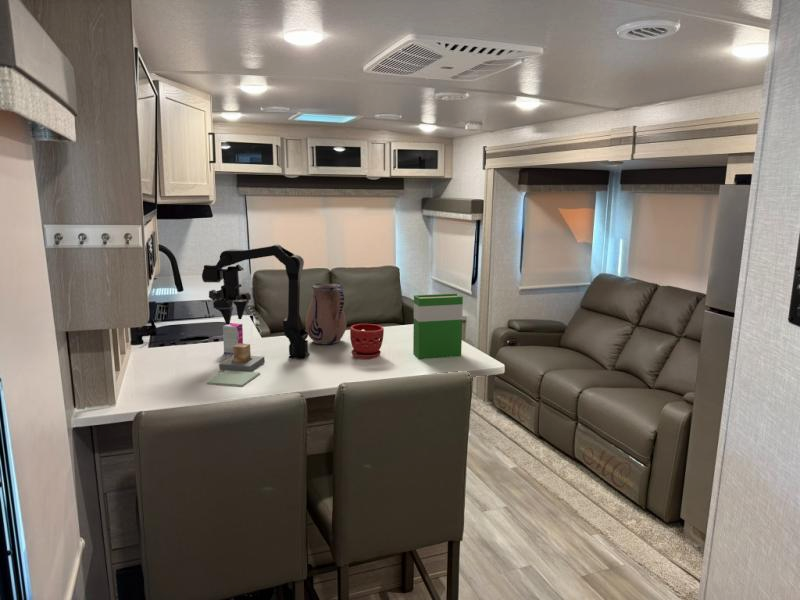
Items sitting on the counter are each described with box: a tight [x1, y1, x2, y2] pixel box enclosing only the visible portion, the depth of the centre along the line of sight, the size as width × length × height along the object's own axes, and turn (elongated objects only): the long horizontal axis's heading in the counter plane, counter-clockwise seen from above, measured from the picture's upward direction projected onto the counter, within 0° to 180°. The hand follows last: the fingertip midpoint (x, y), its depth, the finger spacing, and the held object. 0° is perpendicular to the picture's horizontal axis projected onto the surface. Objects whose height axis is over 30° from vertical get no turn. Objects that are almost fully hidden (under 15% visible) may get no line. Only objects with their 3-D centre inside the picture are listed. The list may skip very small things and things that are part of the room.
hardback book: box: [412, 293, 464, 360], centre depth 215 cm, size 18×7×24 cm, turn 104°
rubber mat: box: [206, 370, 261, 387], centre depth 188 cm, size 13×13×1 cm
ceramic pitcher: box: [305, 283, 347, 345], centre depth 232 cm, size 18×21×25 cm
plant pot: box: [349, 323, 385, 360], centre depth 214 cm, size 13×13×12 cm
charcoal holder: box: [218, 355, 266, 372], centre depth 202 cm, size 12×12×2 cm
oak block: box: [232, 343, 252, 363], centre depth 202 cm, size 4×4×8 cm
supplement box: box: [222, 322, 244, 355], centre depth 219 cm, size 6×6×12 cm
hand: (234, 321), depth 213 cm, fingers open, 9 cm apart
